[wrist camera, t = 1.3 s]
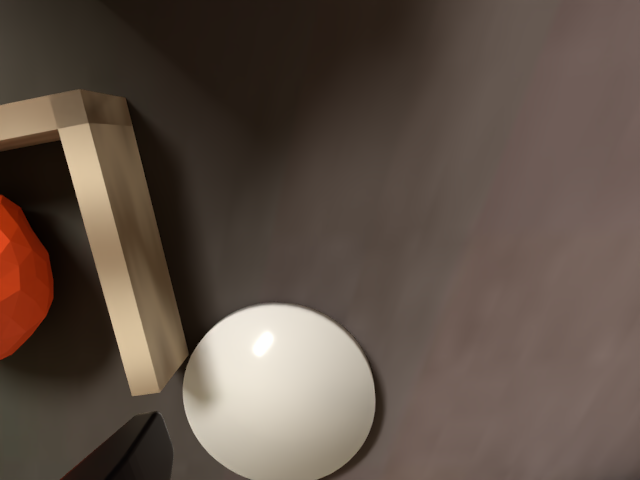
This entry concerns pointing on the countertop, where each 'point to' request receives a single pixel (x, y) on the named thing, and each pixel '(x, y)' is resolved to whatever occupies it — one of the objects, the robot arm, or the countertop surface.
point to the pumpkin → (21, 279)
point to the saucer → (279, 393)
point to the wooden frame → (112, 222)
